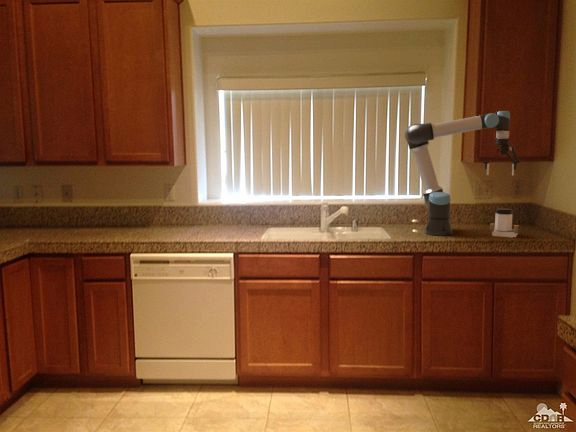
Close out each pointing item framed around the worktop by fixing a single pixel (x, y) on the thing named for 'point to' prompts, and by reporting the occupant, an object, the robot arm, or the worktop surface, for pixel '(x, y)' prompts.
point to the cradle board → (504, 232)
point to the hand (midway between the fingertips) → (500, 175)
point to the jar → (503, 219)
